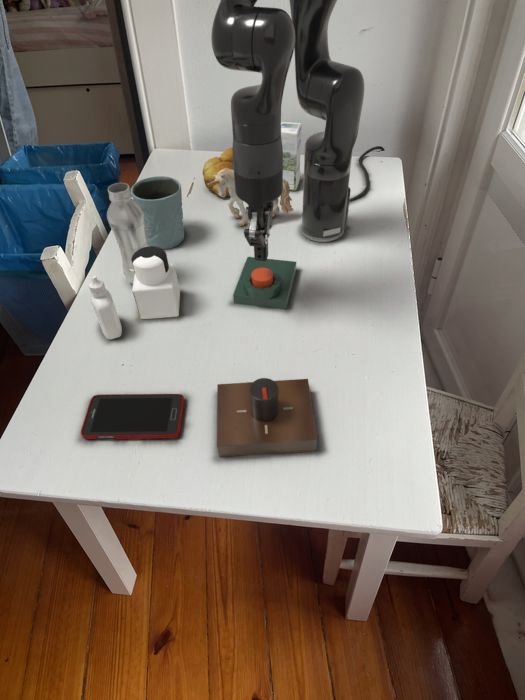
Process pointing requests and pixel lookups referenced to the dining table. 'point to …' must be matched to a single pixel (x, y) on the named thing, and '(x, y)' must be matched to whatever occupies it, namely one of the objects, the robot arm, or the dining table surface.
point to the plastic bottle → (126, 225)
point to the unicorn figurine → (227, 179)
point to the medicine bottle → (155, 284)
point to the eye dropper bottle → (105, 309)
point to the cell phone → (133, 416)
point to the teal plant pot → (161, 210)
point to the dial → (264, 399)
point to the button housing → (270, 295)
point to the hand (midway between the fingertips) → (261, 258)
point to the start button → (262, 277)
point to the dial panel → (265, 436)
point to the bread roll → (217, 169)
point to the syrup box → (291, 153)
